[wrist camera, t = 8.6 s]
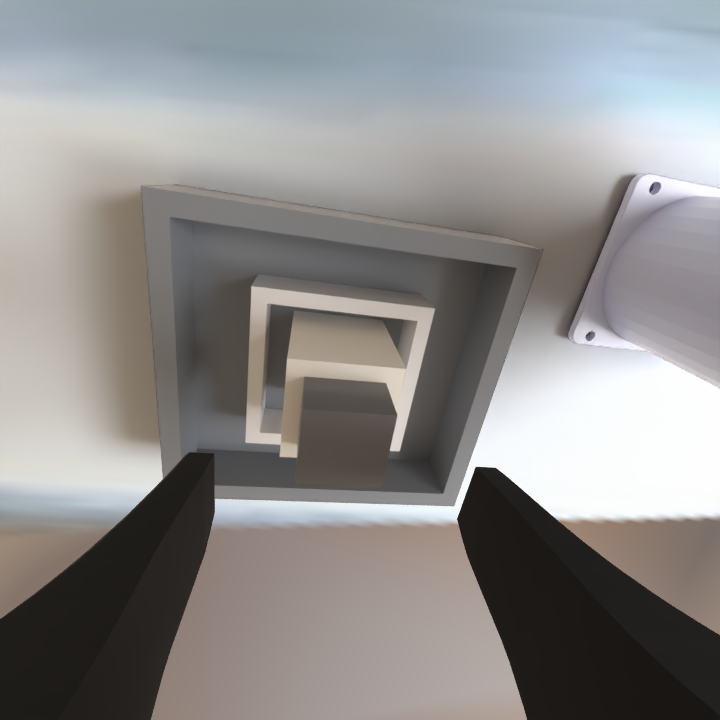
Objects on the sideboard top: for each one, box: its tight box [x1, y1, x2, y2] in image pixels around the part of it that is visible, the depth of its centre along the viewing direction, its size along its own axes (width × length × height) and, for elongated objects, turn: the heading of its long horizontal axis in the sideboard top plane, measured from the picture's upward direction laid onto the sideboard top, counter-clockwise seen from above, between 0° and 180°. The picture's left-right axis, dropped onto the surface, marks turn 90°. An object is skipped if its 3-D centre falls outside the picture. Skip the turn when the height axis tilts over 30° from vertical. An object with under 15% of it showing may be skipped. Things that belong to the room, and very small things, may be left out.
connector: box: [280, 311, 406, 487], centre depth 15 cm, size 4×4×7 cm
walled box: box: [141, 185, 543, 506], centre depth 17 cm, size 14×13×4 cm
